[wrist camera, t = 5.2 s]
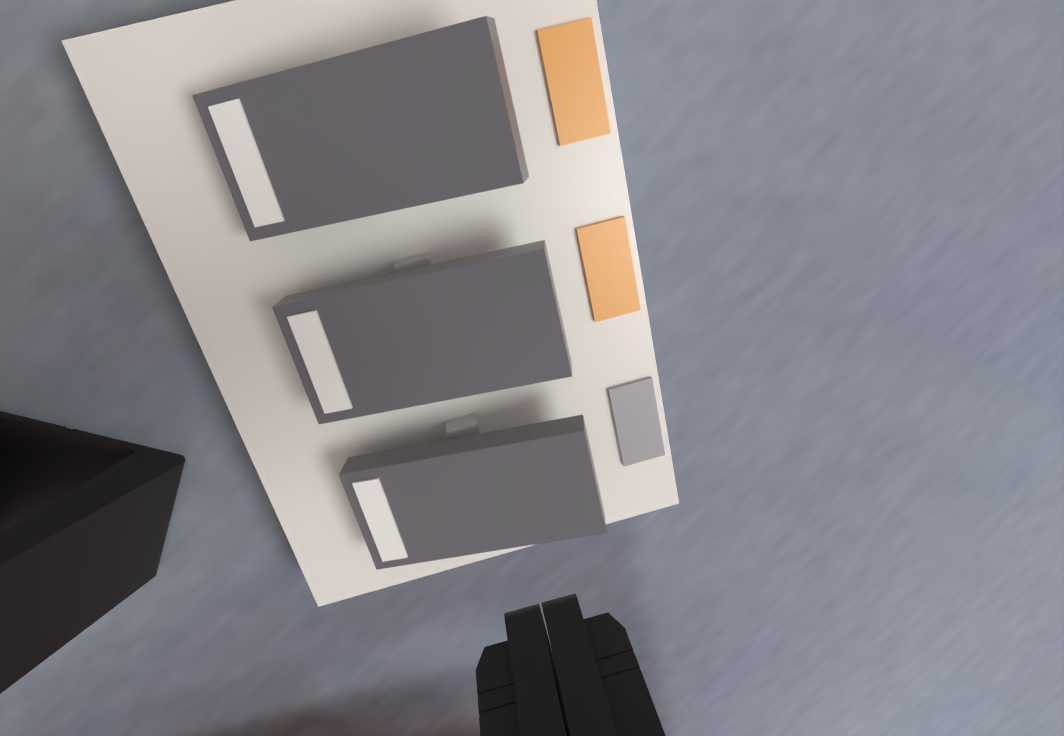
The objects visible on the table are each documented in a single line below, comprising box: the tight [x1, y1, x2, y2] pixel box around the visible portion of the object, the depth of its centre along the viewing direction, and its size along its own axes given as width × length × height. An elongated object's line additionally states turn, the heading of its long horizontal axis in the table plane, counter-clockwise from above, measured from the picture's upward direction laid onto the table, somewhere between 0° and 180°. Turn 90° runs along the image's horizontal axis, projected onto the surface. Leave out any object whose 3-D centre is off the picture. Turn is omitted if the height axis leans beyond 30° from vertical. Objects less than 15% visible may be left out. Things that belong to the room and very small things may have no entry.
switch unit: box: [62, 0, 679, 607], centre depth 25 cm, size 22×16×4 cm
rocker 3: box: [339, 415, 607, 570], centre depth 25 cm, size 4×9×1 cm, turn 103°
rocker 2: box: [272, 240, 572, 424], centre depth 22 cm, size 4×9×1 cm, turn 103°
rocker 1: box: [192, 16, 529, 241], centre depth 20 cm, size 4×9×1 cm, turn 103°
